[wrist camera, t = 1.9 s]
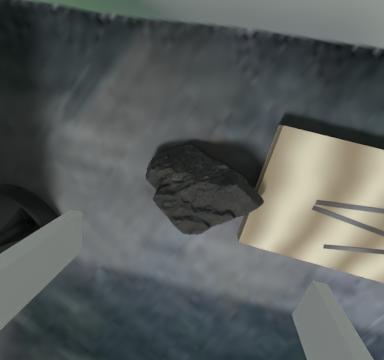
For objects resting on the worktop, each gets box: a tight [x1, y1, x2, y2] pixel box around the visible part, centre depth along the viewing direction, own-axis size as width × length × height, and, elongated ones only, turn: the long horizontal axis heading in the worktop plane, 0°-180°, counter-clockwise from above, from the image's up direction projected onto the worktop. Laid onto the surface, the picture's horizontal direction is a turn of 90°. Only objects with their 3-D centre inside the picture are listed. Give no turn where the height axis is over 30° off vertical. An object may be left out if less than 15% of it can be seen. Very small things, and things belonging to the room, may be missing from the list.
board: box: [237, 125, 384, 283], centre depth 21 cm, size 26×14×2 cm, turn 77°
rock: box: [146, 145, 264, 235], centre depth 21 cm, size 10×6×10 cm
